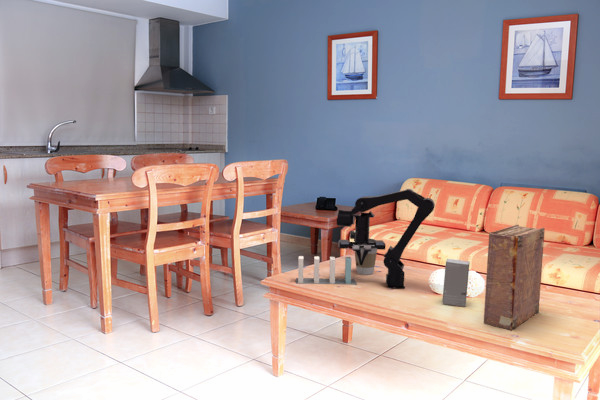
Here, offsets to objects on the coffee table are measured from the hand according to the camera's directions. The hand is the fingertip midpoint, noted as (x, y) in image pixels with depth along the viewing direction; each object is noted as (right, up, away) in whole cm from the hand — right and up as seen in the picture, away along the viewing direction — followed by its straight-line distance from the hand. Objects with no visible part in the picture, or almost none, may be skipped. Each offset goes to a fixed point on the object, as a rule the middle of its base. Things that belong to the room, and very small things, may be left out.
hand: (360, 265), depth 216 cm
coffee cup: (+4, -6, +17) cm, 18 cm away
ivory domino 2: (-12, -7, +1) cm, 14 cm away
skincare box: (+32, -11, -24) cm, 41 cm away
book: (+47, -13, -39) cm, 62 cm away
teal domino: (-5, -7, +1) cm, 9 cm away
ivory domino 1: (-18, -7, +1) cm, 20 cm away
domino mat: (-14, -7, +2) cm, 16 cm away
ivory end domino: (-25, -7, +1) cm, 26 cm away
